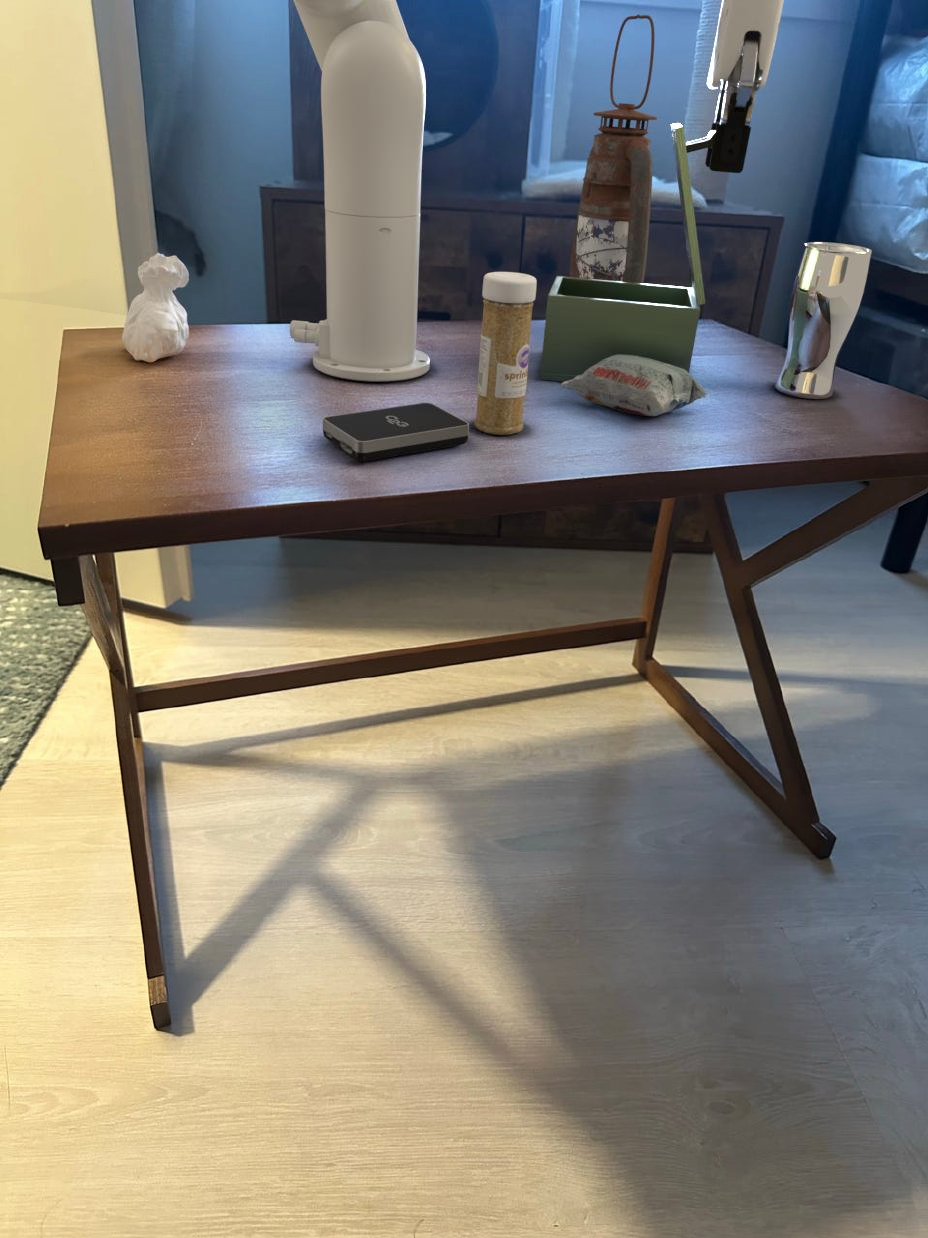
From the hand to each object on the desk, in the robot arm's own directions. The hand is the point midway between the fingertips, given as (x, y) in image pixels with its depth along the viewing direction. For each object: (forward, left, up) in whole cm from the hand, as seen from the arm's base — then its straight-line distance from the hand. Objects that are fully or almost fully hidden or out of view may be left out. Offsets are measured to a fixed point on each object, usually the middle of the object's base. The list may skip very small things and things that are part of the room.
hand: (723, 167), depth 93 cm
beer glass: (+13, 0, -22) cm, 25 cm away
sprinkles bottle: (-18, -24, -22) cm, 37 cm away
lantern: (-11, +18, -22) cm, 30 cm away
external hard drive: (-26, -31, -22) cm, 46 cm away
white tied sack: (-57, -11, -22) cm, 62 cm away
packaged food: (-6, -14, -22) cm, 26 cm away
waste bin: (-8, 0, -21) cm, 23 cm away
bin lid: (-3, 0, -4) cm, 5 cm away
